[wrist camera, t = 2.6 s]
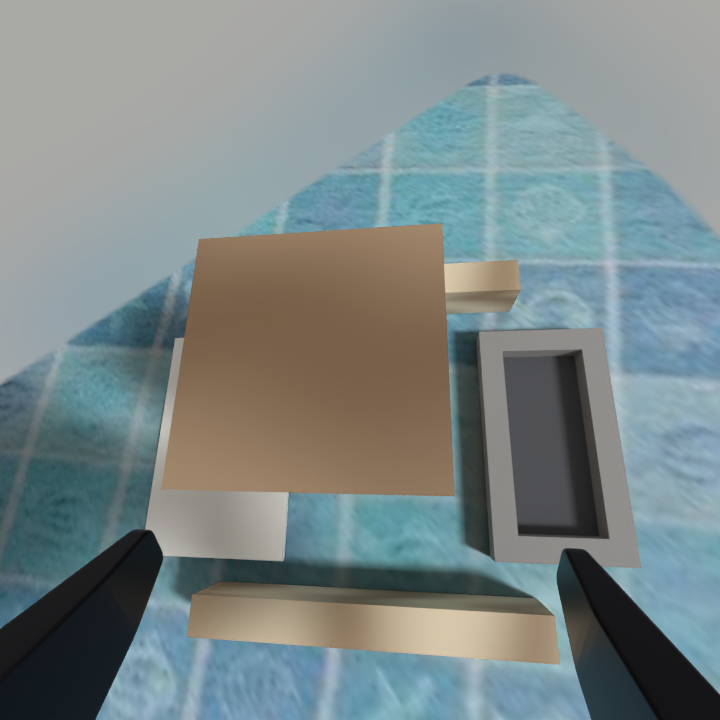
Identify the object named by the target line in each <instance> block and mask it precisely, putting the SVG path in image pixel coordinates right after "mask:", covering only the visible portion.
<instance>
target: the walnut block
mask: <svg viewBox="0 0 720 720" xmlns="http://www.w3.org/2000/svg"><path fill="white" fill-rule="evenodd" d="M161 490H203V491H247V492H292V493H336V494H380V495H424V496H454V474H453V452H452V430H451V408H450V385H449V363H448V341H447V319H446V297H445V275H444V253H443V231H442V223H440V224H424V225H409V226H394V227H379V228H363V229H348V230H333V231H317V232H302V233H287V234H272V235H256V236H241V237H226V238H210V239H199V243H198V250H197V256H196V263H195V270H194V276H193V283H192V289H191V296H190V302H189V309H188V316H187V322H186V329H185V335H184V342H183V349H182V355H181V362H180V368H179V375H178V382H177V388H176V395H175V401H174V408H173V414H172V421H171V428H170V434H169V441H168V447H167V454H166V461H165V467H164V474H163V480H162V487H161Z"/></svg>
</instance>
